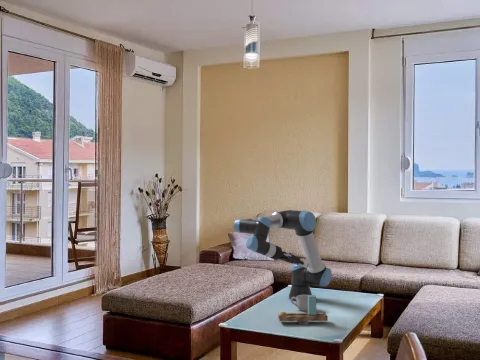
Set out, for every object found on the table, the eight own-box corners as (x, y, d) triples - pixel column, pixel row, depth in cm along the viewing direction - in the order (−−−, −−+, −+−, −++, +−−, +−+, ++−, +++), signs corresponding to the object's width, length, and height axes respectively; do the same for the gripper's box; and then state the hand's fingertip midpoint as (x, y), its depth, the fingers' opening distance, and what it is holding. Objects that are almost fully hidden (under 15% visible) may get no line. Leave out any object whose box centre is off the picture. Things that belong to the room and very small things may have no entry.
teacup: (315, 308, 317) (316, 295, 317) (312, 313, 307) (312, 299, 307) (293, 306, 322) (293, 293, 322) (289, 311, 312) (289, 297, 311)
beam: (279, 324, 284) (279, 314, 284) (277, 321, 291) (277, 311, 291) (327, 324, 285) (327, 314, 285) (324, 320, 292) (325, 310, 292)
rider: (308, 317, 286) (308, 296, 285) (307, 315, 290) (307, 295, 289) (316, 317, 286) (316, 296, 286) (314, 315, 290) (314, 295, 290)
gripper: (264, 258, 290) (298, 272, 299) (277, 257, 279) (312, 271, 288) (267, 245, 293) (301, 259, 302) (280, 243, 281) (315, 258, 291)
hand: (306, 265), depth 295 cm, fingers closed
